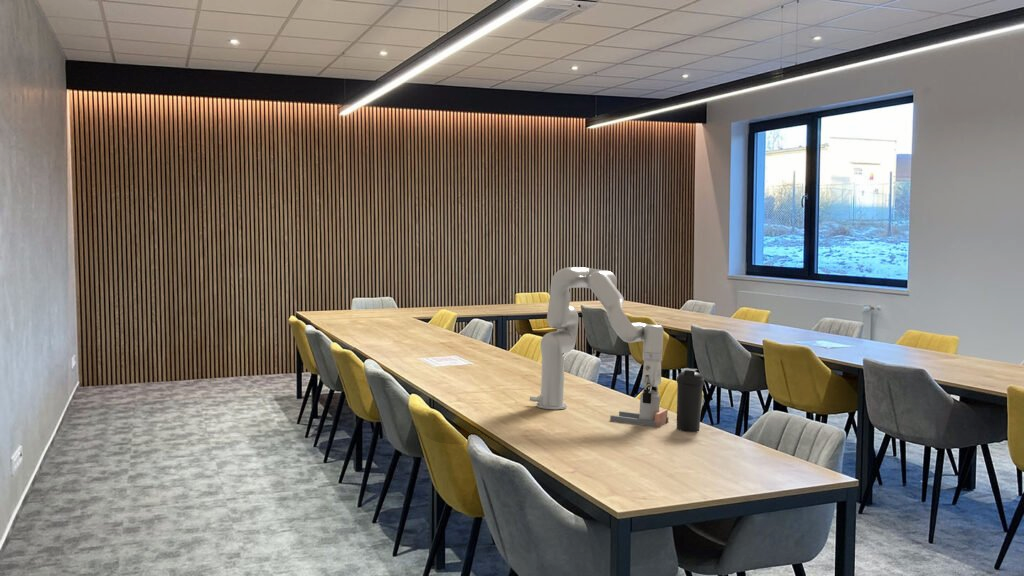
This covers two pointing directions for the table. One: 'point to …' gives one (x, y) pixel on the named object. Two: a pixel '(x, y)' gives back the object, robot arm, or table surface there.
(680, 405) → the water bottle
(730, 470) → the table surface
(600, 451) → the table surface
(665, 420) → the channel
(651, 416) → the can
